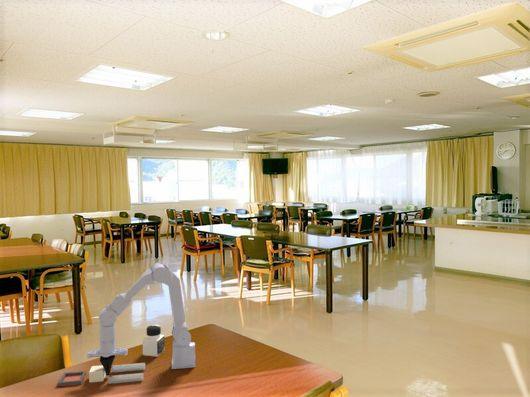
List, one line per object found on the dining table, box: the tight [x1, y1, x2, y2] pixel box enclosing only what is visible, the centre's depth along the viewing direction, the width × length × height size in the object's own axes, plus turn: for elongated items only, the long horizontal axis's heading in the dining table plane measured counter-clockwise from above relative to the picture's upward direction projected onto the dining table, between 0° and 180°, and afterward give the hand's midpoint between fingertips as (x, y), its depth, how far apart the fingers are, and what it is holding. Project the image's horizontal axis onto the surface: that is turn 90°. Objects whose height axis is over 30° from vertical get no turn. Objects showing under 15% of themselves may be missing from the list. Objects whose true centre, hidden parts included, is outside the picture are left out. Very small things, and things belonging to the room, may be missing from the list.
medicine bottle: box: [142, 324, 166, 358], centre depth 182 cm, size 7×7×12 cm
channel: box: [108, 362, 146, 385], centre depth 161 cm, size 12×10×2 cm
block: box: [88, 364, 106, 383], centre depth 158 cm, size 5×5×4 cm
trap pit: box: [57, 370, 87, 387], centre depth 157 cm, size 8×8×1 cm
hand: (108, 374), depth 159 cm, fingers closed
